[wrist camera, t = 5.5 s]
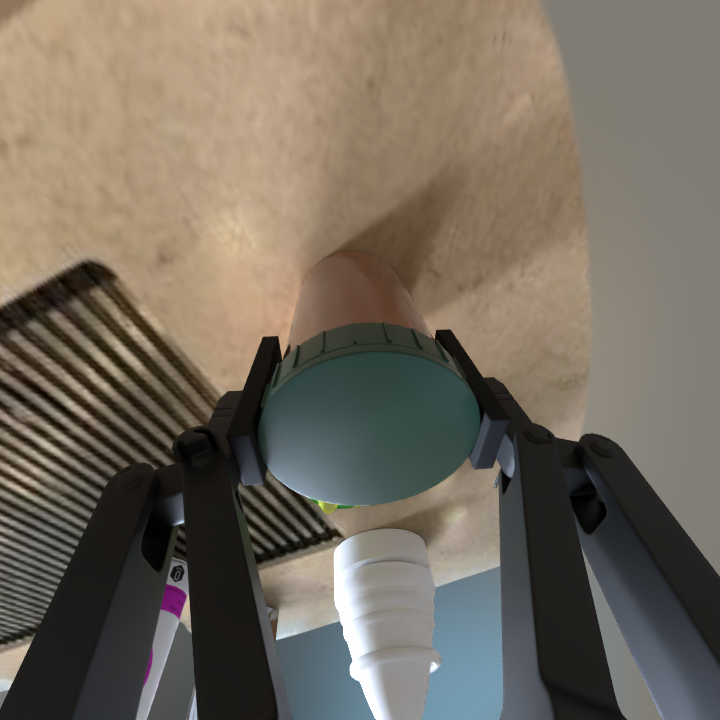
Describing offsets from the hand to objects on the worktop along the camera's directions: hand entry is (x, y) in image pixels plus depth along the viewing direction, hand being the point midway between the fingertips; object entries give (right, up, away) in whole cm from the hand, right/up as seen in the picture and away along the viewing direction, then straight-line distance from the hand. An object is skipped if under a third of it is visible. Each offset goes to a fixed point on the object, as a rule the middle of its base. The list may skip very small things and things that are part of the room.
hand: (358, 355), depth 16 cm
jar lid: (0, -3, -5) cm, 6 cm away
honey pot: (+3, -27, +26) cm, 38 cm away
